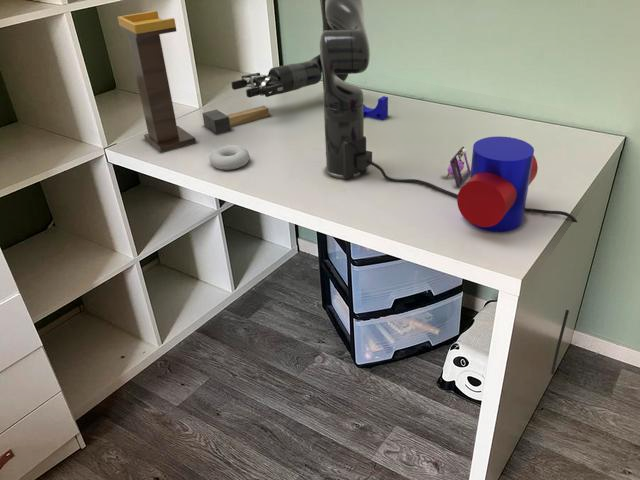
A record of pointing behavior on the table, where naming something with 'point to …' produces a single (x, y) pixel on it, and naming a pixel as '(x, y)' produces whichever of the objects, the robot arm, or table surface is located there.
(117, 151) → the table surface
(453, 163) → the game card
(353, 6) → the robot arm
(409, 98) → the table surface
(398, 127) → the table surface
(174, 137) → the walnut stand
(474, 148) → the blue red crossed cylinders
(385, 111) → the blue curved block
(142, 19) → the mustard tray
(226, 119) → the toy hammer
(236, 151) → the donut
